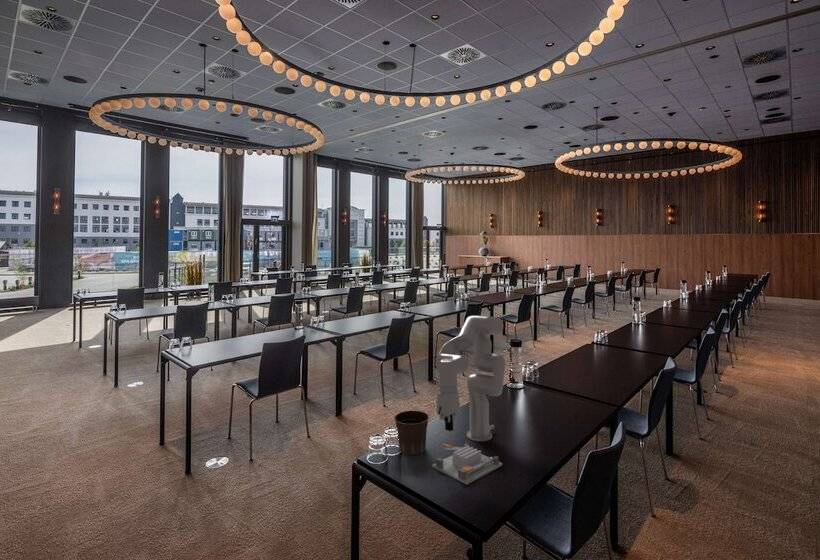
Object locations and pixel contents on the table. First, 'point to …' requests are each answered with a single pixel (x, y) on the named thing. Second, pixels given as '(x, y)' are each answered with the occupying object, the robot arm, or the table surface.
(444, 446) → the strap
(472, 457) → the cooler board
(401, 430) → the plant pot
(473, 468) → the strap
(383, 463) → the table surface
